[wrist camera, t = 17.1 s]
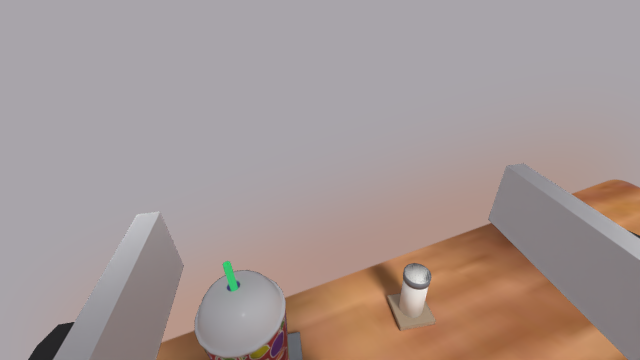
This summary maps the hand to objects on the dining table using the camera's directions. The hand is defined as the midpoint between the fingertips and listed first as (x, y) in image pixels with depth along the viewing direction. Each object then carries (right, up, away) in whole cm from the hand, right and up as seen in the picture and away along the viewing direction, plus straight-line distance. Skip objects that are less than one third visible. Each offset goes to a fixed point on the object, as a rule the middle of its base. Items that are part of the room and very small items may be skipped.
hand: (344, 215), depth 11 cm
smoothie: (-8, -23, +24) cm, 34 cm away
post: (+12, -17, +31) cm, 37 cm away
